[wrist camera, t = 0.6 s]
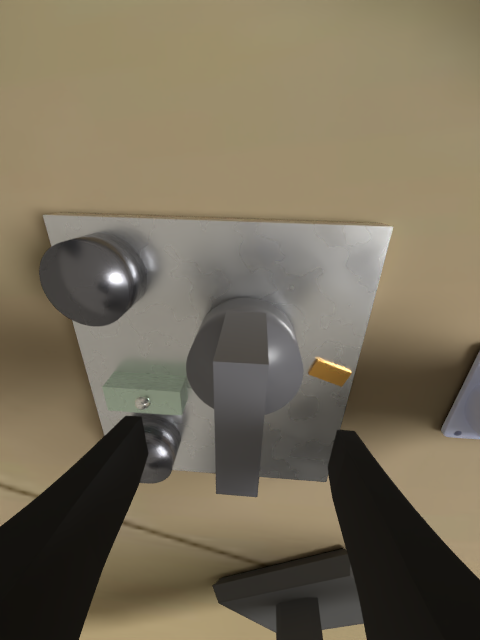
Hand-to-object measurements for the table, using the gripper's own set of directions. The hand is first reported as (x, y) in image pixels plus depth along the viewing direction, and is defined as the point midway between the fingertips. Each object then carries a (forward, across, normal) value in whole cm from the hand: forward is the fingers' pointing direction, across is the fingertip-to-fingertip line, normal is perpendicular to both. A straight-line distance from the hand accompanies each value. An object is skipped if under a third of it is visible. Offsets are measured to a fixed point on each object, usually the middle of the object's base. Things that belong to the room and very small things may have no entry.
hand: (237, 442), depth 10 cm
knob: (+7, 0, +2) cm, 8 cm away
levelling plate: (+9, +2, +3) cm, 10 cm away
